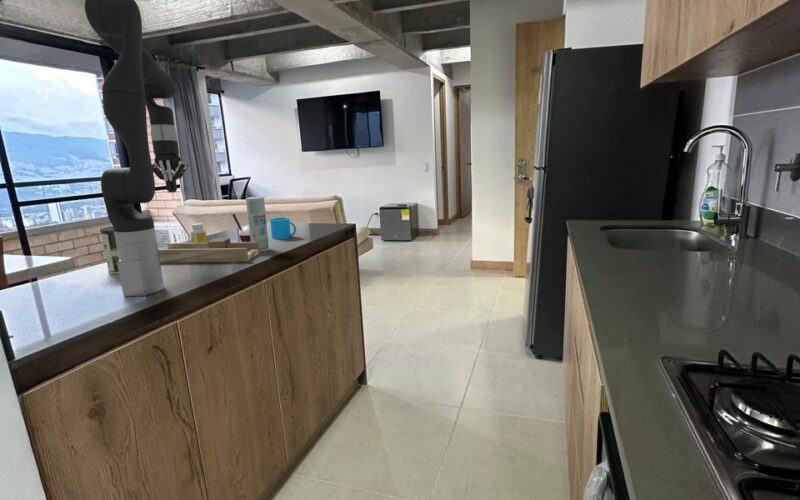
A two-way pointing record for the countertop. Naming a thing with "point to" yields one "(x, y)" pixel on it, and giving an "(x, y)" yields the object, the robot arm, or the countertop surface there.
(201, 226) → the supplement bottle
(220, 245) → the walnut block
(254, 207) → the spray can
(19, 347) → the countertop surface
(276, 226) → the mug
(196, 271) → the countertop surface
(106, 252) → the coffee can
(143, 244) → the robot arm
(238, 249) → the frame
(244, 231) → the cocoa
